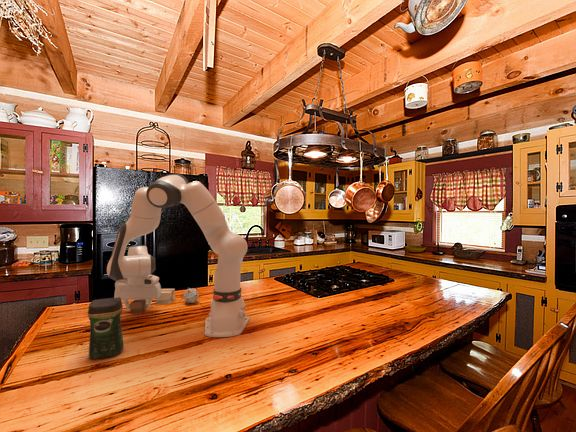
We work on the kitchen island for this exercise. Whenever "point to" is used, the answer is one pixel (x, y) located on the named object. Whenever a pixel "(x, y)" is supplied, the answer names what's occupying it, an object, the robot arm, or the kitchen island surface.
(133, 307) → the walnut block
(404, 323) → the kitchen island surface
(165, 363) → the kitchen island surface
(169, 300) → the oak base block
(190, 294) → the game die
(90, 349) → the coffee jar
